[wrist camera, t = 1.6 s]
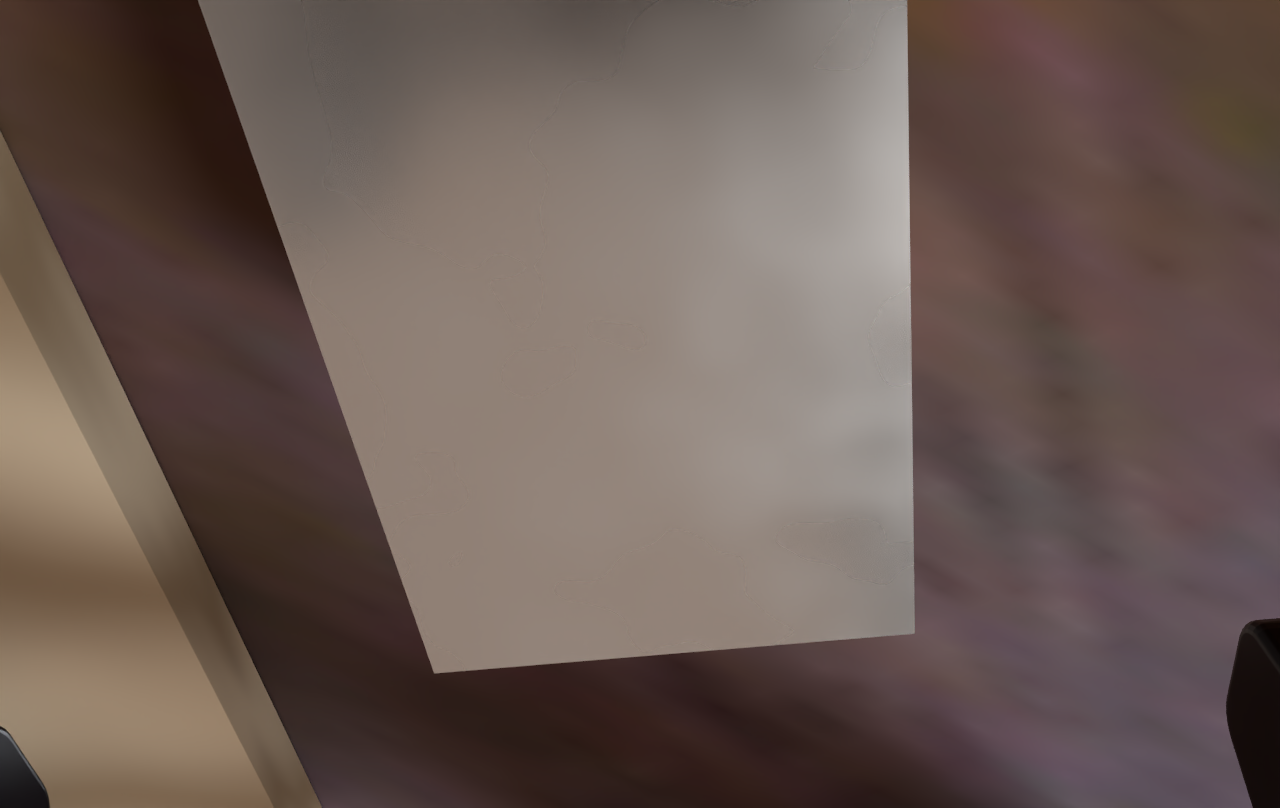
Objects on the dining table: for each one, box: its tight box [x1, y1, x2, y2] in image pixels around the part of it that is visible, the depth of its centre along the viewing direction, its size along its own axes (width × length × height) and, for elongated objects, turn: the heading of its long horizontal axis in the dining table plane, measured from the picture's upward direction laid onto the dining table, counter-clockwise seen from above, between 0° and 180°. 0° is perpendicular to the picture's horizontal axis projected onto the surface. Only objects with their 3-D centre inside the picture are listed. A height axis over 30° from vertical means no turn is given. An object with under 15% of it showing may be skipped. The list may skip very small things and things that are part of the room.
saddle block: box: [198, 0, 915, 673], centre depth 15 cm, size 9×6×6 cm, turn 8°
